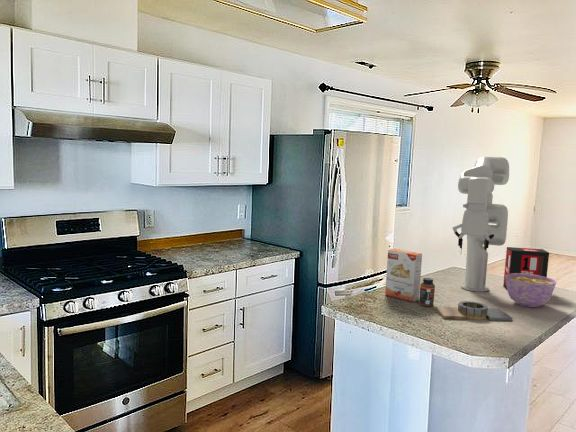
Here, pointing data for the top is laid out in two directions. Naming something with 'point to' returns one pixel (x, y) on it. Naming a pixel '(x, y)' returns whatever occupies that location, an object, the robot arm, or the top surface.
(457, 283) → the top surface
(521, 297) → the bowl of food
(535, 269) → the cleaning product box
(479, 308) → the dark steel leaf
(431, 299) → the supplement bottle
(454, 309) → the tan board
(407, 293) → the cracker box
